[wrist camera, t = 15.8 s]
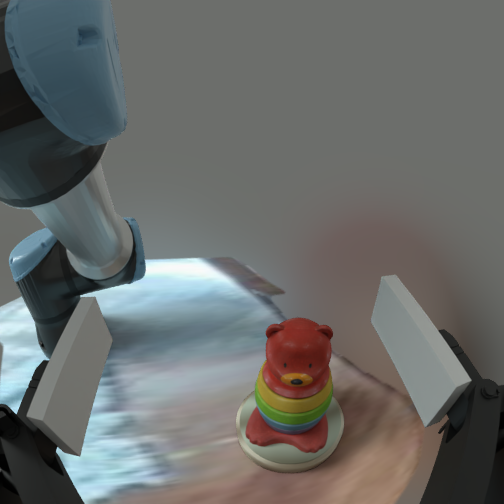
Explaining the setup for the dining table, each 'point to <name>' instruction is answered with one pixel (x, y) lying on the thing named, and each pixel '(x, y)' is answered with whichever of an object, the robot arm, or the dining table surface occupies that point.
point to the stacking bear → (293, 387)
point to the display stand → (286, 455)
